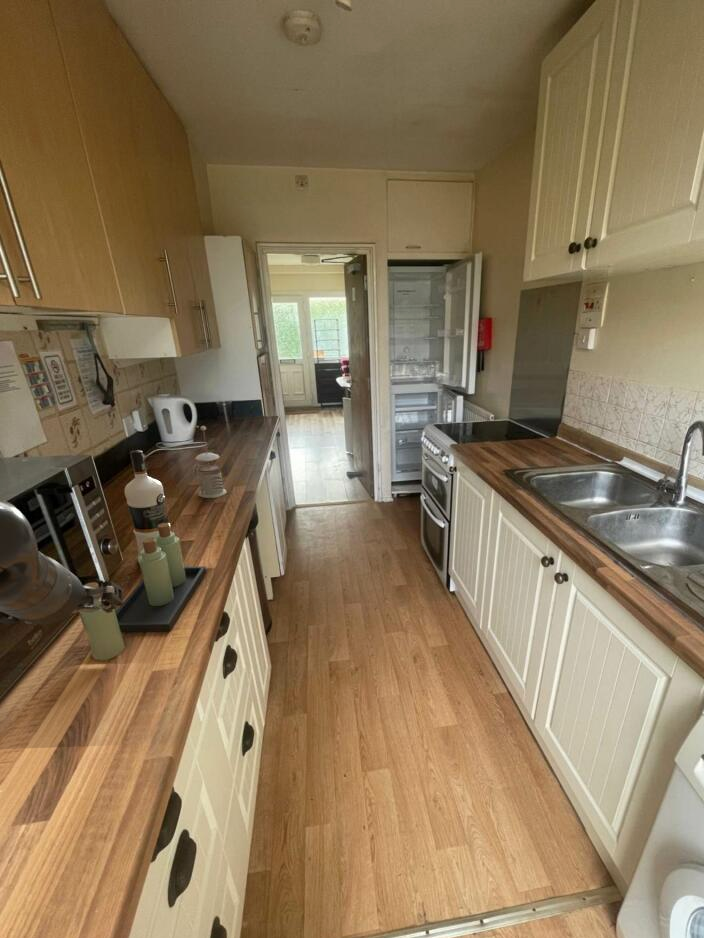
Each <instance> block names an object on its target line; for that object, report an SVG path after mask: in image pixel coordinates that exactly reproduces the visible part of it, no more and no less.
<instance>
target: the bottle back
mask: <svg viewBox="0 0 704 938" xmlns="http://www.w3.org/2000/svg"><path fill="white" fill-rule="evenodd" d="M169 523H170V522H169ZM169 523H161V524H159V525H158V531H159V534H157V536H156V538H157V540H155V541H156V546H157V547H160V548H161V551H162V552H165V554H166V558H167V563H168V568H169V573H170V578H171V583H172V587H175V586H178V585H181V584H183V583H184V582H185V581H186V575H185V569H184V567H185V563H184V559H183V554H182V548H181V543H180V537H178V536H176V535H175V532H174V531H170V530H171V525H170V526H169Z"/></svg>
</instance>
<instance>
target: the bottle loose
mask: <svg viewBox="0 0 704 938" xmlns="http://www.w3.org/2000/svg"><path fill="white" fill-rule="evenodd" d="M83 586H87V587H95V588H100V586H99V583H98V582H97V581H93V582H88V583H85V584H84V585H83ZM98 603H100V604H101V597H98ZM84 606H87V604H86V605H84ZM115 611H116V609H113V612H110V613H107V612H105V611H104V610H102V609H97V610H94V611H92V612H78V614H79V617H80V620H81V623H82V626H83V631H84V633H85V636H86V640H87V642H88V645H89V649H90V652H91V656H92V658H93V659H94V660H96V661H107V660H110V659H113V658H116V657H118V656H119V655H120V654H121V653H123V651H124V650H125V647H126V646H125V642H124V638H123V635H122V634H123V633H121V630H120V627H119V623H118V619H117V616H116V612H115Z"/></svg>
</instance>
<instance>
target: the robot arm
mask: <svg viewBox="0 0 704 938" xmlns="http://www.w3.org/2000/svg"><path fill="white" fill-rule="evenodd" d="M101 583H102V584H101V586H100V587H99V588H95V587H87V586H84V585H83V584H82V582H81V580H80V579H79V578H78V577H77V576H76V575H75V574H74V573H73V572H71V571H70V570H69V569H67V568H66V567H64V566H63V565H62V564H61V563H59V562H58V561H56V560H55V559H54V558H52V557H50V556H47V555H45V554H44V553H42V552H41V551H39V547H38V542H37V538H36V535H35V533H34V530H33V528H32V526H31V523H30V521H29V520H28V519H27V518H26V516H25V514H23V513H22V511H20V509H19V508H17V506H15V505H14V504H12V503H11V502H8V501H7V500H4V499H2V498H0V623H1V624H4V625H6V626H11V627H15V626H17V625H19V623H20V622H24V624H28V625H32V624H33V625H39V626H46V625H52V624H55V623H58V622H60V621H62V620H64V619H66V618H67V617H69V616H70V615H72V614H75V613H79V612H92V611H94V610H97V609H102V610H104V611H105V612H107V613H110V612H113V609H115V610H117V607H120V606H121V605H122V604H123V602H124V595H123V593H124V592H123V587H121V586H119V584H117V583H115V582H114V581H112V580H105V581H103V582H101ZM98 597H101V604H100V603H98ZM86 604H87V606H84V605H86Z"/></svg>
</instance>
